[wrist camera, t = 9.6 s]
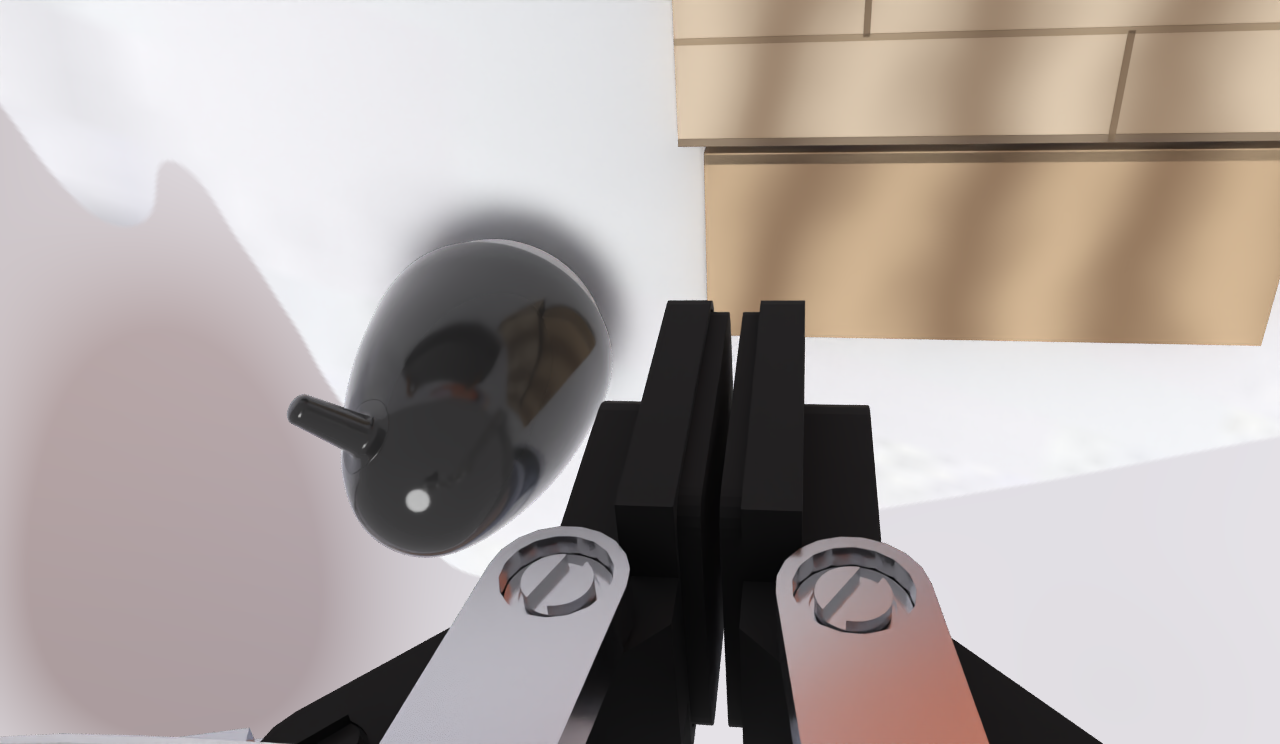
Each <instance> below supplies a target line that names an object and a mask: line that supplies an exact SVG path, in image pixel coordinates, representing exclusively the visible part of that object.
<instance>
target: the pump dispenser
mask: <svg viewBox="0 0 1280 744" xmlns="http://www.w3.org/2000/svg"><path fill="white" fill-rule="evenodd" d="M611 374H612V348H611V342H610V338H609V334H608V331H607V328H606V325H605V323H604V321H603V318H602V316H601V314H600V312H599V310H598V307H597V305H596V303H595V301H594V299H593V297H592V295H591V294H590V292H589V291H588V289H587V288H586V286H585V285H584V284H583V282H582V281H581V280H580V279H579V278H578V276H577V275H576V274H575V273H574V272H573V271H572V270H571V269H569V268H568V267H567V266H566V265H565V264H564V263H562V262H561V261H560V260H558V259H557V258H555V257H553V256H552V255H550V254H549V253H547V252H545V251H543V250H541V249H538V248H536V247H533V246H531V245H527V244H524V243H520V242H516V241H511V240H503V239H484V240H475V241H469V242H463V243H456V244H452V245H447V246H444V247H441V248H438V249H435V250H433V251H431V252H429V253H427V254H425V255H423V256H421V257H420V258H418V259H416V260H415V261H414V262H412V263H411V264H410V265H409V266H408V267H406V268H405V269H404V270H403V271H402V272H401V273H400V274H399V276H398V277H397V278H396V279H395V280H394V282H393V283H392V284H391V285H390V287H389V288H388V290H387V291H386V293H385V294H384V296H383V297H382V299H381V301H380V302H379V304H378V306H377V308H376V310H375V312H374V314H373V316H372V318H371V320H370V322H369V325H368V327H367V329H366V331H365V334H364V336H363V338H362V341H361V343H360V346H359V349H358V351H357V354H356V357H355V360H354V364H353V367H352V371H351V375H350V379H349V383H348V388H347V393H346V399H345V405H344V407H341V406H338V405H335V404H333V403H330V402H326V401H324V400H321V399H318V398H315V397H312V396H309V395H306V394H302V395H299V396H297V397H296V398H295V399H294V400H293V401H292V402H291V404H290V406H289V408H288V411H287V418H288V420H289V422H290V423H291V424H293V425H295V426H297V427H299V428H301V429H303V430H305V431H307V432H309V433H311V434H312V435H314V436H316V437H319V438H320V439H322V440H324V441H326V442H328V443H330V444H332V445H334V446H336V447H338V448H340V449H341V466H342V475H343V481H344V486H345V490H346V493H347V497H348V500H349V503H350V505H351V508H352V510H353V512H354V514H355V516H356V518H357V520H358V521H359V523H360V524H361V526H362V527H363V528H364V529H365V530H366V532H367V533H368V534H369V535H370V536H371V537H373V538H374V539H375V540H376V541H378V542H379V543H380V544H382V545H384V546H385V547H387V548H389V549H391V550H393V551H396V552H398V553H401V554H404V555H408V556H413V557H424V558H429V557H440V556H445V555H449V554H453V553H456V552H459V551H461V550H464V549H466V548H468V547H471V546H473V545H475V544H477V543H479V542H481V541H482V540H484V539H486V538H488V537H489V536H491V535H492V534H494V533H495V532H497V531H498V530H500V529H501V528H503V527H504V526H505V525H507V524H508V523H509V522H511V521H512V520H513V519H515V518H516V517H517V516H518V515H520V514H521V513H522V512H523V511H524V510H526V509H527V508H528V507H529V506H530V505H531V504H532V503H533V502H535V501H536V500H537V499H538V498H539V497H540V496H541V495H542V494H543V493H544V492H545V491H546V490H547V489H548V488H549V486H550V485H551V484H552V483H553V482H554V481H555V480H556V479H557V477H558V476H559V475H560V474H561V473H562V471H563V470H564V469H565V468H566V466H567V465H568V463H569V462H570V461H571V459H572V458H573V456H574V455H575V453H576V452H577V450H578V449H579V447H580V446H581V444H582V442H583V441H584V439H585V438H586V436H587V434H588V432H589V431H590V429H591V427H592V425H593V424H594V421H595V418H596V415H597V412H598V409H599V407H600V405H601V403H602V402H604V400H605V397H606V394H607V391H608V388H609V384H610V380H611Z"/></svg>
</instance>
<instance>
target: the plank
mask: <svg viewBox="0 0 1280 744" xmlns="http://www.w3.org/2000/svg"><path fill="white" fill-rule="evenodd" d="M704 178H705V220H706V262H707V300H712V301H713V305H714V312H730V320H731V335H732V336H740V332H741V324H742V316H743V312H760V303H761V300H805V337H835V338H887V339H939V340H990V341H1042V342H1094V343H1146V344H1197V345H1249V346H1261V344H1262V340H1263V337H1264V333H1265V329H1266V326H1267V322H1268V319H1269V315H1270V312H1271V308H1272V304H1273V301H1274V297H1275V294H1276V290H1277V287H1278V283H1279V279H1280V141H1195V142H1097V143H999V144H901V145H804V146H706V149H705V152H704Z"/></svg>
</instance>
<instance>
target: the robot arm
mask: <svg viewBox="0 0 1280 744" xmlns="http://www.w3.org/2000/svg"><path fill="white" fill-rule="evenodd" d="M804 374H805V300H761V303H760V312H743V316H742V324H741V332H740V340H739V348H738V356H737V364H736V372H735V380H734V389H733V376H732V347H731V320H730V312H714V305H713V301H712V300H685V301H668V303H667V305H666V309H665V313H664V317H663V321H662V325H661V328H660V332H659V336H658V340H657V344H656V348H655V351H654V355H653V359H652V363H651V367H650V370H649V374H648V378H647V382H646V386H645V390H644V393H643V397H642V401H641V402H637V401H604V402H602V403H601V405H600V407H599V409H598V412H597V415H596V418H595V421H594V424H593V427H592V430H591V433H590V437H589V440H588V443H587V446H586V449H585V452H584V455H583V458H582V461H581V464H580V468H579V471H578V474H577V477H576V480H575V483H574V486H573V489H572V492H571V495H570V498H569V502H568V505H567V508H566V511H565V514H564V517H563V520H562V523H561V526H559V527H553V528H547V529H541V530H537V531H535V532H532V533H530V534H527V535H525V536H522V537H520V538H518V539H516V540H515V541H513V542H512V543H510V544H509V545H507V546H506V547H504V548H503V549H501V551H500V552H499V553H498V554H497V555H496V556H495V558H494V559H493V560H492V561H491V562H490V563H489V565H488V567H487V568H486V570H485V571H484V573H483V575H482V576H481V578H480V580H479V581H478V583H477V585H476V586H475V588H474V589H473V591H472V593H471V594H470V596H469V598H468V600H467V601H466V603H465V604H464V606H463V607H462V610H461V611H460V612H459V614H458V616H457V617H456V619H455V621H454V622H453V624H452V626H451V627H450V628H448V629H447V630H445V631H443V632H441V633H439V634H437V635H436V636H434V637H432V638H430V639H428V640H427V641H424V642H423V643H421V644H419V645H417V646H415V647H414V648H412V649H410V650H408V651H406V652H404V653H403V654H401V655H399V656H397V657H396V658H394V659H392V660H390V661H388V662H386V663H384V664H382V665H381V666H379V667H377V668H375V669H373V670H371V671H370V672H368V673H366V674H364V675H362V676H361V677H359V678H357V679H355V680H353V681H351V682H349V683H348V684H346V685H344V686H342V687H341V688H339V689H337V690H335V691H333V692H331V693H330V694H328V695H326V696H324V697H322V698H320V699H318V700H317V701H315V702H313V703H311V704H309V705H307V706H306V707H304V708H302V709H300V710H298V711H296V712H295V713H294V714H292V715H291V716H289V717H288V718H286V719H285V720H283V721H282V722H281V723H279V724H277V725H276V726H275V727H273V729H272V730H271V731H270V732H269V733H268V734H267V735H266V736H265V737H264V738H261V739H254V737H253V735H252V733H251V730H250V728H244V729H237V730H229V731H221V732H214V733H206V734H198V735H191V736H183V737H160V736H140V735H139V736H138V735H103V734H102V735H101V734H64V733H62V734H45V735H44V734H42V735H24V736H4V737H0V744H694V736H695V728H696V724H699V725H713V724H714V719H715V710H716V701H717V690H718V681H719V671H720V661H721V651H722V641H723V631H724V642H725V662H726V685H727V705H728V725H729V727H742V728H743V744H1103V743H1101V742H1100V741H1098V740H1097V739H1095V738H1094V737H1093V736H1091V735H1090V734H1088V733H1087V732H1085V731H1084V730H1083V729H1081V728H1080V727H1078V726H1077V725H1075V724H1074V723H1073V722H1071V721H1070V720H1068V719H1067V718H1065V717H1064V716H1062V715H1061V714H1060V713H1058V712H1057V711H1055V710H1054V709H1052V708H1051V707H1049V706H1048V705H1047V704H1045V703H1044V702H1042V701H1041V700H1040V699H1038V698H1037V697H1035V696H1034V695H1032V694H1031V693H1030V692H1028V691H1027V690H1025V689H1024V688H1022V687H1021V686H1020V685H1018V684H1017V683H1015V682H1014V681H1012V680H1011V679H1010V678H1008V677H1007V676H1005V675H1004V674H1002V673H1001V672H1000V671H998V670H996V669H995V668H994V667H992V666H991V665H989V664H988V663H987V662H985V661H984V660H982V659H981V658H979V657H978V656H977V655H975V654H974V653H972V652H971V651H969V650H968V649H967V648H965V647H964V646H962V645H961V644H959V643H958V642H957V641H955V640H953V639H952V638H951V636H950V633H949V631H948V628H947V625H946V622H945V619H944V616H943V613H942V611H941V608H940V605H939V602H938V599H937V597H936V594H935V591H934V588H933V586H932V583H931V582H930V580H929V578H928V576H927V575H926V573H925V571H924V570H923V568H922V567H921V566H920V565H919V564H918V563H916V562H915V561H914V560H913V559H912V558H911V557H910V556H909V555H907V554H906V553H904V552H902V551H900V550H898V549H896V548H894V547H892V546H890V545H888V544H886V543H882V542H881V534H880V524H879V523H880V522H879V510H878V498H877V487H876V475H875V463H874V451H873V440H872V428H871V416H870V408H869V406H868V405H819V404H804Z"/></svg>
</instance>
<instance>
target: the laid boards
mask: <svg viewBox="0 0 1280 744" xmlns="http://www.w3.org/2000/svg"><path fill="white" fill-rule="evenodd" d="M672 8H673V32H674V56H675V79H676V103H677V126H678V147H706V146H804V145H901V144H999V143H1097V142H1195V141H1280V0H672Z"/></svg>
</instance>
